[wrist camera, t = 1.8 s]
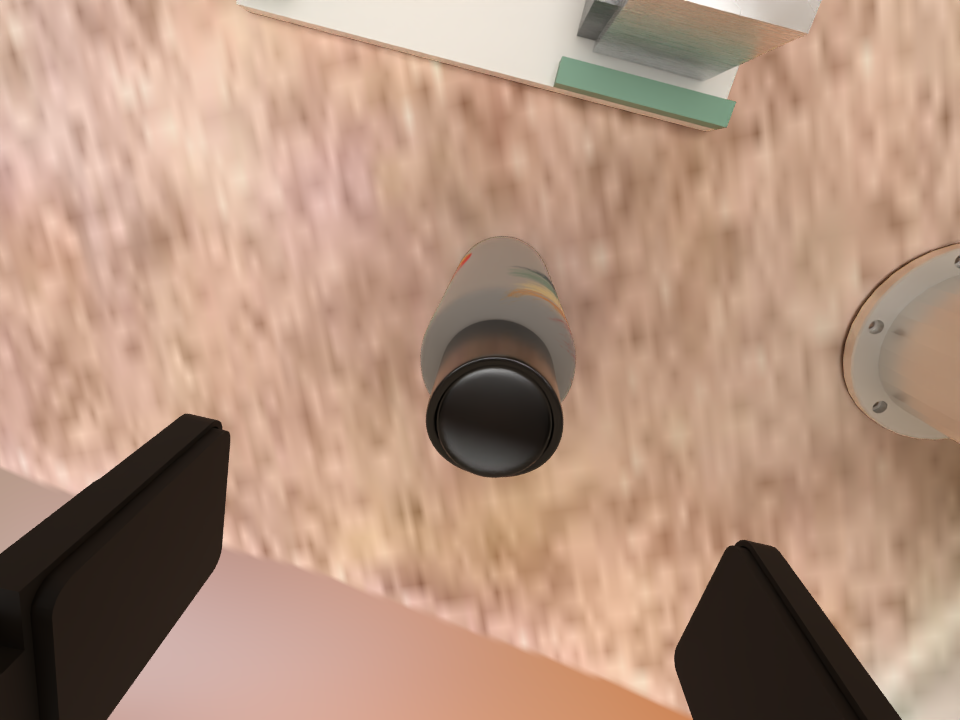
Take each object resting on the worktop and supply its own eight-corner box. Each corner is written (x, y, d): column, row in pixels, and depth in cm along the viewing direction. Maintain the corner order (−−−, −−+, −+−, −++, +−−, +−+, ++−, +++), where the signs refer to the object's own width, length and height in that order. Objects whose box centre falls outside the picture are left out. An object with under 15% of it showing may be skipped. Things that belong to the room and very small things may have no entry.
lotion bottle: (449, 314, 34) (375, 496, 15) (466, 226, 32) (406, 307, 13) (535, 332, 34) (569, 535, 15) (557, 245, 32) (628, 354, 13)
